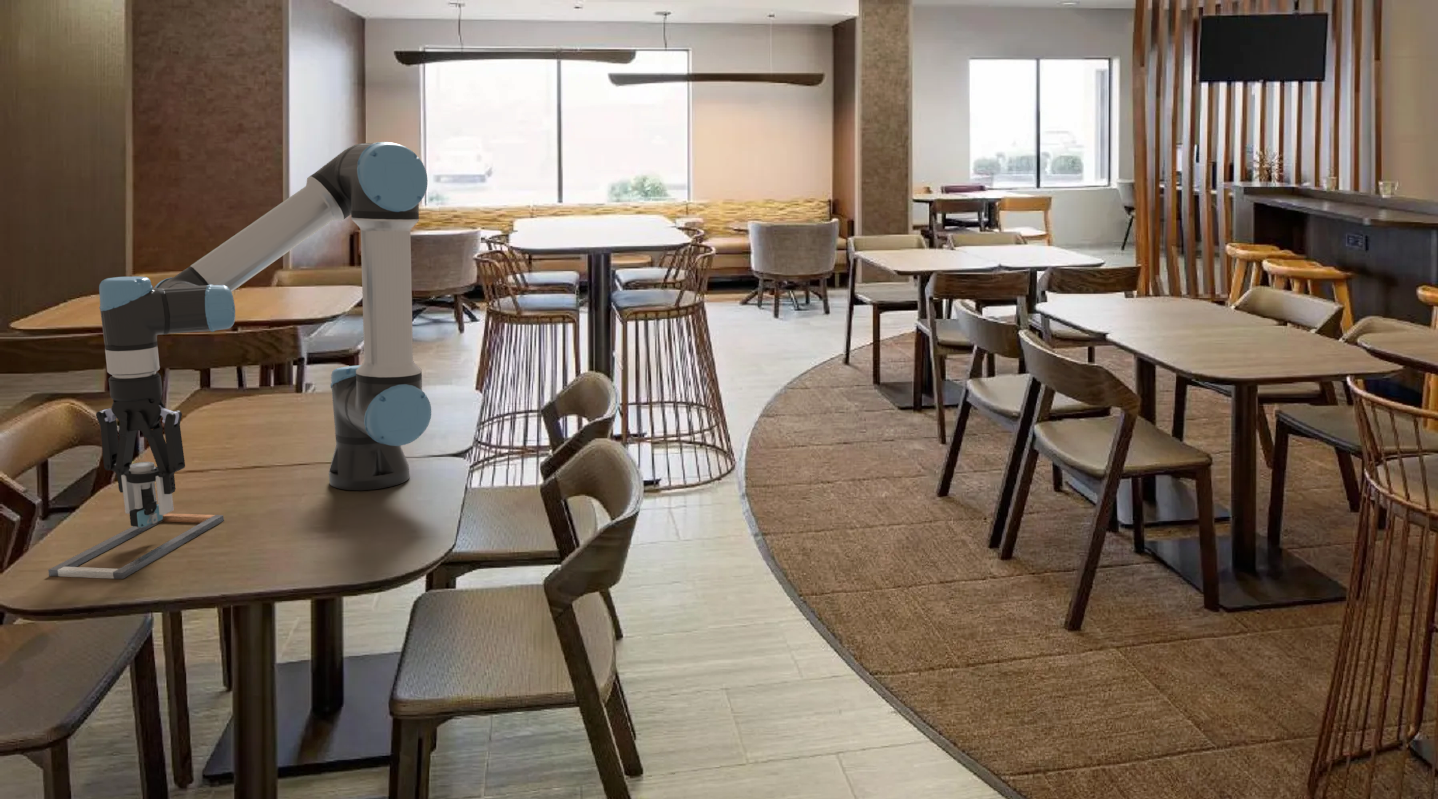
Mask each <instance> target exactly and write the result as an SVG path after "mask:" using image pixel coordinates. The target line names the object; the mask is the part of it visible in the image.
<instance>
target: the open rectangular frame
mask: <svg viewBox="0 0 1438 799" xmlns="http://www.w3.org/2000/svg"><path fill="white" fill-rule="evenodd" d="M224 521H225V518H224V515H223V514H202V513H200V514H199V513H198V514H195V513H193V514H192V513H171V512H169V513H167V514H165V515H163V519H162V520H160V521H158V522H157V523H154V524H153V523H152V524H150V525H147V526H144V527H135V526H131V527H128V528H127V529H125V530H123V531H121V532H119V533H117V534H116V535H113V536H111V537H109V538H108V539H105V540H104V541H101V542H100V543H98V544H96V545H93V546H92V547H91V548H88V549H86V550H84V551H82V552H80V553H78V554H77V555H75V556H73V557H70V558H69V559H66V560H65V561H62V562H61V563H58V564H57V565H55V566H53V567H51V568H49V569H48V570H47V571H48V576H49V577H64V578H65V577H66V578H67V577H69V578H70V577H71V578H91V579H114V580H117V579H119V580H124V579H125V578H127V577H129V576H130V575H132V574H134V573H136V572H137V571H139V570H142V569H143V568H145V567H146V566H148V565H149V564H151V563H153V562H154V561H157V560H158V559H160V558H162V557H164V556H166V555H167V554H170V552H172V551H174V550H176V549H177V548H179V547H181V546H183V545H184V544H186V543H188V542H189V541H191V540H194V539H195V538H197V537H198V536H199V535H201V534H204V533H205V532H207V531H208V530H210V529H212V528H214V527H216V526H217V525H219V524H221V523H222V522H224ZM162 522H169V523H171V522H173V523H175V522H176V523H196V524H197V523H198V524H197V525H194V526H192V528H189V529H188V530H186V531H184V532H182V533H181V534H179V535H177V536H175V537H173V538H172V539H169V540H168V541H165V543H163V544H161V545H159V546H157V547H156V548H154V549H152V550H150V551H148V552H146V553H144V554H143V555H141V556H139V557H138V558H136V559H134V560H132V561H131V562H129V563H127V564H125V565H124V566H122V567H120V568H110V567H109V568H108V567H87V566H86V567H84V566H81V565H82V564H84V563H87V562H88V561H90V560H92V559H94V558H96V557H98V556H100V555H101V554H103V553H106V552H107V551H109V550H111V549H113V548H115V547H117V546H118V545H120V544H122V543H124V542H126V541H128V540H130V539H132V538H134V537H136V536H138V535H140V534H141V533H144V532H145V531H147V530H149V529H151V528H153V527H155V526H157V525H158V524H160V523H162ZM79 566H80V567H79Z"/></svg>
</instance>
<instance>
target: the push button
mask: <svg viewBox="0 0 1438 799" xmlns="http://www.w3.org/2000/svg"><path fill="white" fill-rule="evenodd" d="M157 474H160V472H159V470H158V467H157V465H156V466H155V463H154V462H153V461H141V462H140V461H139V462H135V463H132V464H131V465H130V469H128V470H126V471H125V472H124V475H125V476H126V477H127V482H130V483H132V484H133V488H134V498H135V509H133V510H131V511H130V512H129V513H130V514H129V522H130V526H131V527H133V526H135V527H144V526H147V525H150V524H152V523H153V524H154V523H157V522H158V521H160V520H162V519H163V515H160V514H159V505H158V499H157V494H156V493H157V490H156V476H158V475H157Z"/></svg>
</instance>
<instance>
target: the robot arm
mask: <svg viewBox="0 0 1438 799" xmlns="http://www.w3.org/2000/svg"><path fill="white" fill-rule="evenodd" d="M306 178H307V179H306V185H305V186H304V187H303V188H301V189H300V190H298V191H297V192H295V193H293V194H292V195H291V196H289V197H288V198H286V199H285V200H284V201H282V202H281V203H279V204H277V206H274V207H273V208H272V209H271V210H269V211H268V212H266V213H264V214H263V215H262V216H260V217H259V218H258V219H256V220H254V221H253V222H252V223H250V224H249V225H248V226H246V227H244V228H243V229H242V230H240V231H238V232H237V233H235V235H233V236H231V237H230V238H229V239H227V240H226V241H224V242H223V243H221V244H219V246H217V247H215V248H214V249H212V250H211V251H210V252H208V253H206V254H205V255H204V256H202V257H201V258H198V260H196V261H195V262H193V263H192V264H191V265H190V266H188V267H187V268H186V269H184V270H182V271H181V272H179V273H178V274H176V275H175V276H173V277H167V278H165V279H162V280H160V281H159V282H158V283H157V284H156V285H155V286H153V285H152V282H151V279H150V278H149V277H146V276H116V277H115V276H114V277H107V278H105V279H103V280H101V282H100V283H99V284H98V285H99V286H98V292H99V311H100V320H101V325H102V333H103V334H102V335H103V342H104V353H105V362H106V372H107V373H108V374H109V375H111V376H109V378H108V385H109V386H108V387H109V395H110V398H111V399H112V405H111V408H105V409H103V410H99V411H97V412H96V413H95V417H96V419H97V421H98V424H99V426H100V437H101V447H102V458H103V468H104V469H105V471H112V472H114V473H115V474H116V476H117V483H118V490H119V493H122V496H123V502H124V503H123V504H124V513H125V514H126V515H127V514H128V515H130V513H129V512H130V511H131V510H133V509H135V498H134V488H133V484H132V483H130V482H127V477H126V476H125V475H124V472H125V471H126V470H128V469H130V465H131V464H133V463H132V461H133V457H134V450H135V444H136V438H137V434H138V432H141V433H142V435H143V437H144V438H146V439H147V442H148V445H149V448H150V450H151V453H152V456H153V459H154V461H155V464H156V467H158V470H159V472H160V474H157V475H158V476H156V482H155V487H156V493H157V494H156V496H157V504H158V505H159V514H160V515H165V514H167V513H171V512H173V511H174V510H175V509H174V501H173V493H175V492H176V480H175V474H176V472H179V471H181V470H183V469H185V467H186V462H185V455H184V446H183V439H182V431H181V421H182V417H183V415H182V414H183V413H182V411H181V410H178V409H177V410H174V411H173V410H170V409H168V408H166V407H165V404H164V402H163V400H162V397H163V382H162V374H160V373H159V372H158V371H159V370H160V368H161V366H160V358H159V348H158V335H169V334H183V333H185V334H186V333H198V332H215V331H220V330H228V329H231V328H232V327H233V326H234V324H235V321H236V306H235V299H234V296H233V293H232V292H233V291H235V290H237V288H239V287H240V286H242V285H244V284H245V283H246V282H248V281H249V280H251V279H252V278H253V277H255V276H256V275H257V274H259V273H260V272H261V271H263V270H265V269H267V267H269V266H271V264H273V263H274V262H276V261H277V260H278V259H280V258H281V257H283V256H285V254H287V253H289V252H291V251H292V250H293V249H294V248H295V247H297V246H299V245H300V244H301V243H302V242H304V241H306V240H307V239H308V238H310V237H311V236H313V235H314V234H315V233H317V232H318V231H320V230H321V229H322V228H324V227H326V226H327V225H328V224H330V223H331V222H332V221H337V222H342V221H344V220H345V219H347V218H348V217H349V216H351V217H350V218H351V219H350V220H352V222H354V224H355V225H357V227H358V228H359V229H360V249H361V251H360V252H361V253H360V254H361V257H360V259H361V285H362V286H361V288H362V292H361V293H362V295H361V296H362V322H363V323H362V325H363V326H362V327H363V362H362V364H360V365H349V366H342V367H337V368H335V369H333V371H332V372H331V374H330V376H331V377H330V378H331V379H330V380H331V383H330V388H331V395H332V396H331V397H332V408H333V421H334V434H335V447H334V451H333V456H332V460H331V463H330V467H329V471H328V478H329V481H328V482H329V485H330V487H333V488H336V489H339V490H347V491H371V490H379V489H385V488H391V487H394V486H397V485H400V484H403V483H405V482H406V481H408V480H409V479H410V477H411V474H410V466H409V463H408V461H407V458H406V455H405V452H404V450H403V448H402V446H405V445H409V444H411V443H413V442H415V441H416V440H417V439H419V437H421V436H422V434H424V433H425V432H426V430H427V428H428V426H429V424H430V423H431V418H432V406H431V402H430V400H429V398H428V396H427V394H426V393H425V392H424V391H423V374H422V372H423V370H422V369H421V368H420V367H419V365H418V364H416V363H415V361H414V356H413V355H414V354H413V353H414V347H413V343H414V342H413V340H414V339H413V299H412V298H413V295H412V250H411V247H412V246H411V245H412V244H411V243H412V242H411V241H412V240H411V239H412V238H411V231H412V228H414V226H416V225H417V223H418V222H419V221H420V209H419V208H420V202H422V201H423V198H424V196H425V195H426V193H427V189H428V172H427V169H426V168H425V165H424V163H423V161H422V160H421V158H420V157H419V156H417V154H416V153H415V152H414V151H413V150H411V149H410V147H409V148H408V147H407V146H405V145H402V144H399V143H395V142H389V141H381V142H379V141H378V142H371V143H370V142H364V143H363V142H361V143H358V144H354V145H352V146H350V147H347V148H345V149H344V150H343V151H342V152H340V153H339V154H338V155H336V156H335V157H333V158H332V159H331V160H330V161H328V162H327V163H326V164H324V165H323V166H322V167H320V168H319V169H318V170H317V171H315V172H314V173H313V174H311V175H309V176H308V177H306ZM116 419H117V420H118V422H119V427H118V423H117V420H116ZM161 419H162V420H161ZM161 421H162V423H163V424H164V429H163V426H162V423H161ZM163 432H164V434H163Z"/></svg>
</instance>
